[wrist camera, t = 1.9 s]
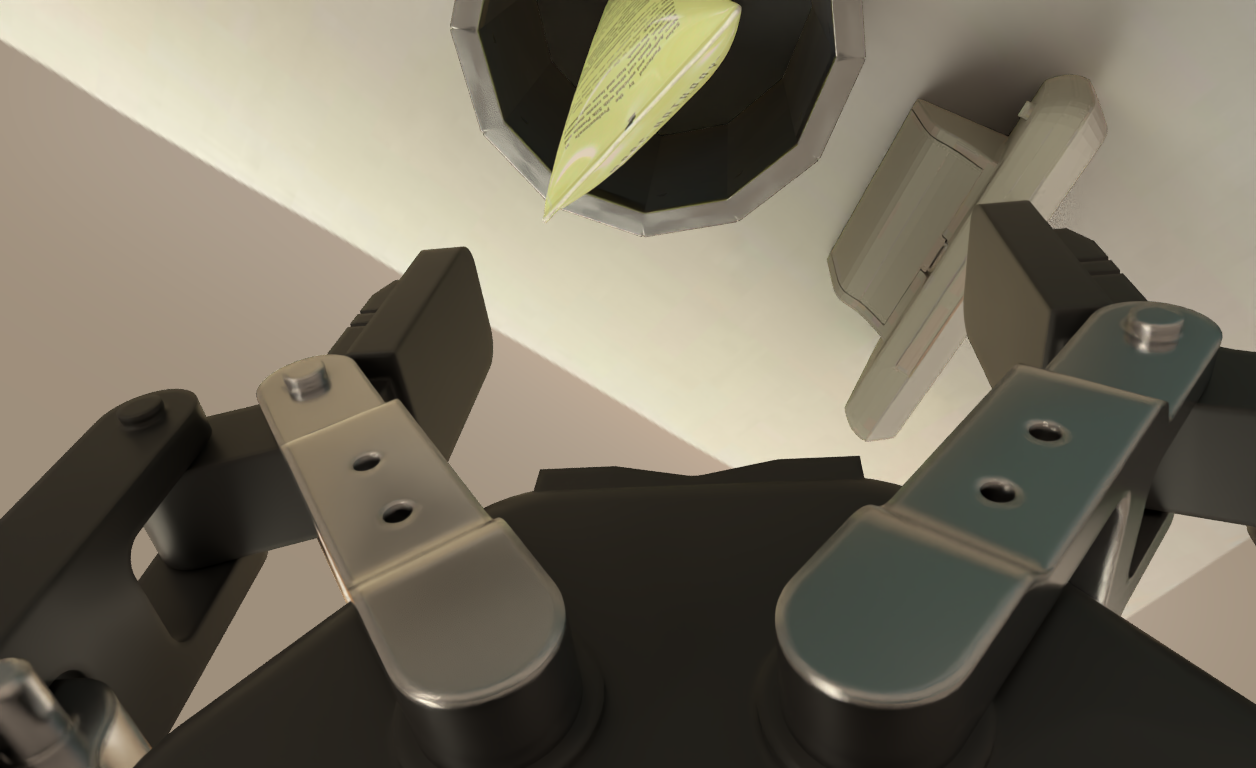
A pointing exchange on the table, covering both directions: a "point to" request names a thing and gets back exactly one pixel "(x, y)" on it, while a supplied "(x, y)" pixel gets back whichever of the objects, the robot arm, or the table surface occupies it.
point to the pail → (665, 165)
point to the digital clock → (945, 233)
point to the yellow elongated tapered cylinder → (636, 84)
